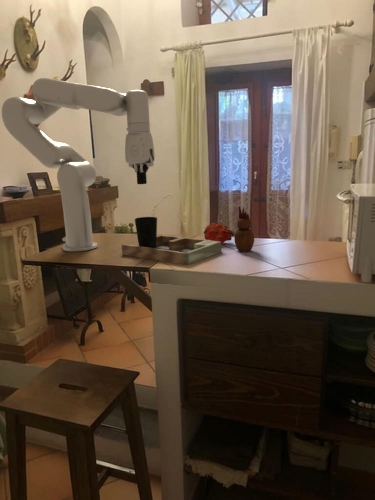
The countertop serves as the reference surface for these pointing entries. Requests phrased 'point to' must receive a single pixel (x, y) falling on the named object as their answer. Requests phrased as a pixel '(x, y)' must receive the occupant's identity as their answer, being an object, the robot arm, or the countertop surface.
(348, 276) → the countertop surface
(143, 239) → the cup
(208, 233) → the dragon fruit
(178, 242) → the open wooden tray box
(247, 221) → the wooden figurine
